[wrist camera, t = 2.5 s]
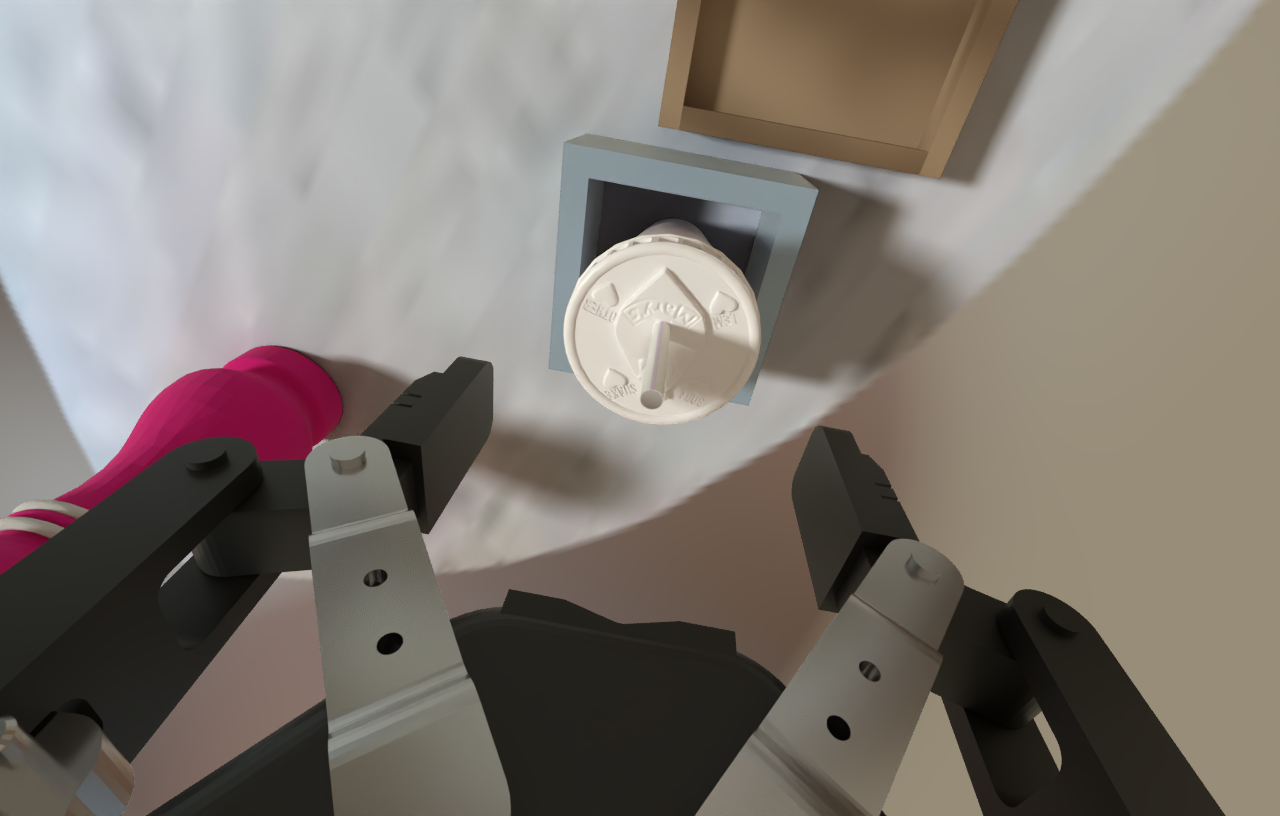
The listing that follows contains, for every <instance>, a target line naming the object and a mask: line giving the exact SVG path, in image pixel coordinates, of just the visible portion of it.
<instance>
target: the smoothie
mask: <svg viewBox="0 0 1280 816" xmlns="http://www.w3.org/2000/svg"><path fill="white" fill-rule="evenodd" d="M563 336H564V345H565V350H566V354H567V358H568V361H569V363H570V366H571V368H572V370H573V372H574V374H575V376H576V377H577V379H578V380H579V382H580V383H581V385H582V386H583V387H584V388H585V390H586V391H587V392H588V393H589V394H590V395H591V396H592V397H593V398H594V399H596V400H597V401H598V402H599V403H601V404H602V405H603V406H605V407H606V408H608V409H609V410H611V411H613V412H615V413H617V414H619V415H621V416H623V417H626V418H629V419H632V420H635V421H639V422H644V423H650V424H662V425H664V424H678V423H684V422H689V421H693V420H696V419H699V418H702V417H704V416H707V415H709V414H711V413H713V412H715V411H716V410H718V409H720V408H721V407H723V406H724V405H725V404H727V403H728V402H729V401H730V400H731V399H733V398H734V397H735V396H736V395H737V394H738V392H739V391H740V390H741V389H742V388H743V386H744V385H745V384H746V382H747V381H748V379H749V377H750V376H751V374H752V372H753V370H754V368H755V365H756V362H757V359H758V355H759V351H760V344H761V327H760V314H759V310H758V306H757V302H756V298H755V294H754V292H753V290H752V288H751V286H750V285H749V283H748V281H747V280H746V278H745V276H744V275H743V273H742V271H741V270H740V269H739V268H738V267H737V266H736V265H735V264H734V263H733V262H732V261H731V260H730V259H728V258H727V257H726V256H725V255H724V254H723V253H722V252H721V251H719V250H717V249H715V248H713V247H712V246H711V245H710V243H709V242H708V240H707V239H706V237H705V236H704V235H703V233H702V232H701V231H700V230H699V229H698V228H697V227H696V226H694V225H693V224H691V223H689V222H687V221H685V220H681V219H674V218H671V219H663V220H660V221H657V222H655V223H653V224H652V225H650V226H649V227H648V228H646V229H645V230H644V231H643V232H642V233H640V234H639V235H638V236H637V237H635V238H632V239H629V240H626V241H624V242H621V243H618V244H615V245H614V246H613V247H611V248H610V249H608V250H607V251H605V252H604V253H603V254H601V255H600V256H598V257H597V258H596V259H594V260H593V262H592V263H591V264H590V265H589V267H588V268H587V269H586V270H585V272H584V273H583V274H582V275H581V277H580V278H579V279H578V281H577V284H576V286H575V288H574V291H573V293H572V296H571V298H570V300H569V303H568V306H567V309H566V313H565V318H564V329H563Z"/></svg>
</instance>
